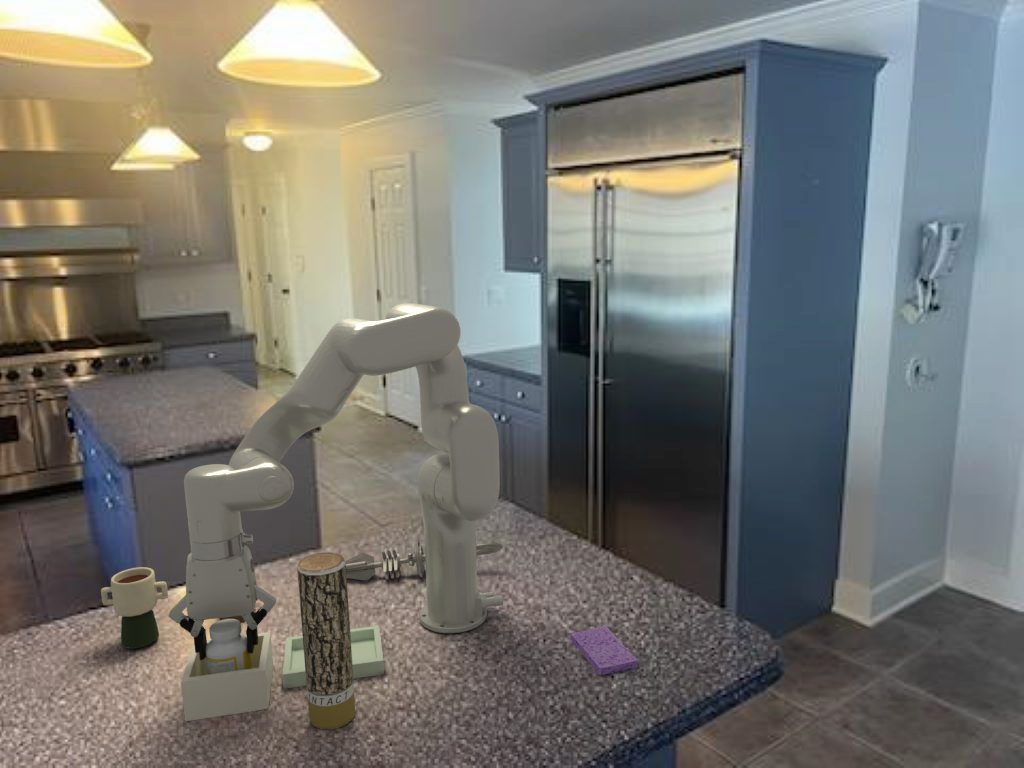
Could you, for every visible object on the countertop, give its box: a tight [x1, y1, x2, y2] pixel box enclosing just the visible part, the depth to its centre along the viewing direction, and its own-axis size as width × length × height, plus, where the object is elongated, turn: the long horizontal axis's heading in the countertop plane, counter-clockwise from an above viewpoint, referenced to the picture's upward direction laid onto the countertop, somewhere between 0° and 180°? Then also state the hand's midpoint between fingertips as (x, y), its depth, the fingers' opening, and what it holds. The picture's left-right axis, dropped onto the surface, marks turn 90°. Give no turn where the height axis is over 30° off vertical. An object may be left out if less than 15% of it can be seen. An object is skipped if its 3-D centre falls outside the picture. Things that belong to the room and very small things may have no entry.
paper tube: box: [296, 552, 356, 730], centre depth 114 cm, size 7×7×25 cm
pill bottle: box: [205, 619, 251, 675], centre depth 122 cm, size 6×6×12 cm
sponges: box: [570, 625, 638, 676], centre depth 133 cm, size 7×13×2 cm, turn 19°
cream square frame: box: [180, 631, 275, 722], centre depth 123 cm, size 12×12×6 cm
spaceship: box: [345, 539, 503, 581], centre depth 164 cm, size 8×35×8 cm
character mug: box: [100, 566, 169, 650], centre depth 138 cm, size 11×7×13 cm, turn 102°
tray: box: [282, 625, 385, 690], centre depth 131 cm, size 16×12×2 cm
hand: (227, 651), depth 122 cm, fingers closed on pill bottle, 6 cm apart
